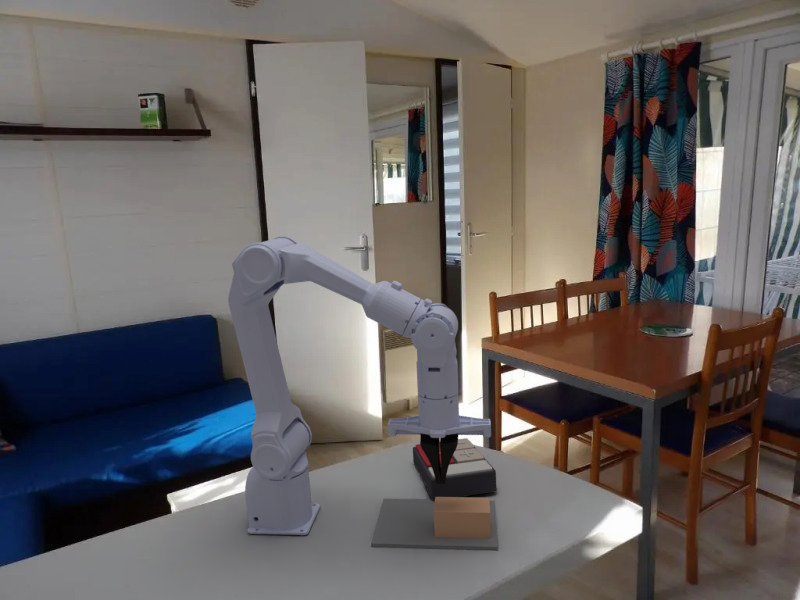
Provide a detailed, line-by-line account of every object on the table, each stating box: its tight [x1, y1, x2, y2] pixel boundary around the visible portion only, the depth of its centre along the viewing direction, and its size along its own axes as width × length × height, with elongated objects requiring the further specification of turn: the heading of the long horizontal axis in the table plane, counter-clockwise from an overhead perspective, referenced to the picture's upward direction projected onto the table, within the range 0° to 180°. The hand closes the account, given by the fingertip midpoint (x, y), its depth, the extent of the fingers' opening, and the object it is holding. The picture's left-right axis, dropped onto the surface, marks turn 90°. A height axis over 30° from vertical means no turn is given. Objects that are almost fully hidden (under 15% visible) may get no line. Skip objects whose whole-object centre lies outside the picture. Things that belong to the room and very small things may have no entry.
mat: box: [370, 498, 499, 551], centre depth 88 cm, size 18×12×1 cm, turn 83°
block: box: [434, 496, 491, 538], centre depth 85 cm, size 4×4×8 cm
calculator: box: [412, 438, 497, 500], centre depth 101 cm, size 11×4×15 cm
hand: (441, 480), depth 84 cm, fingers closed
